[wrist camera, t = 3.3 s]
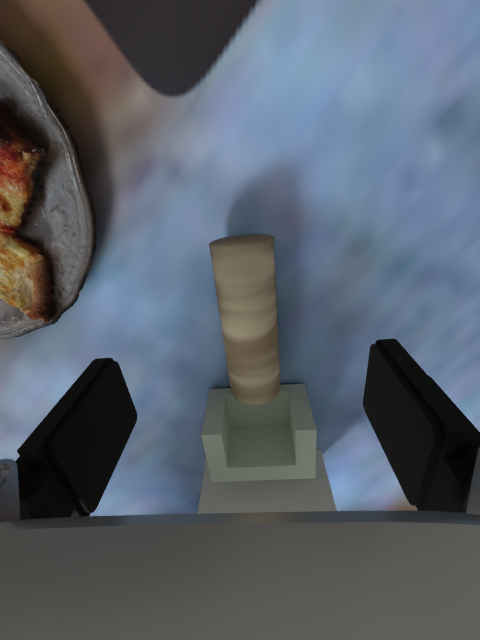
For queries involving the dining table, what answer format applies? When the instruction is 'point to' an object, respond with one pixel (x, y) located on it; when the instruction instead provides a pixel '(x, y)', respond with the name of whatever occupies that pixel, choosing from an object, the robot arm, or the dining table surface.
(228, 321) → the dowel
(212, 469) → the block
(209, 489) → the base
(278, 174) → the dining table surface
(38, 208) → the food plate
